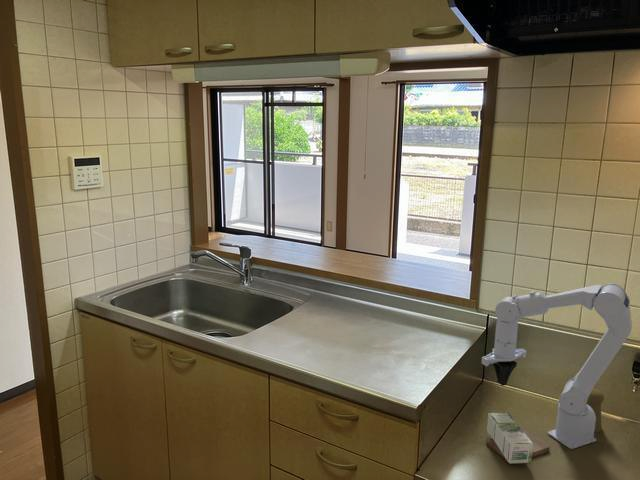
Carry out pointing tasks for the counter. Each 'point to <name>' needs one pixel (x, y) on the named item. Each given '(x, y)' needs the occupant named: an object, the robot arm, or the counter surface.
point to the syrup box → (509, 438)
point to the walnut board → (538, 445)
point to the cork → (596, 406)
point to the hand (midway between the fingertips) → (501, 383)
